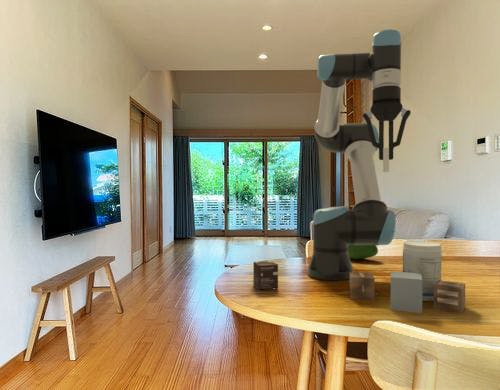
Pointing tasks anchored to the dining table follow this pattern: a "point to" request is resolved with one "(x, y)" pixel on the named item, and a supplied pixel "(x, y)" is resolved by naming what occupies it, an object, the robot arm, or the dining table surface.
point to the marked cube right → (449, 296)
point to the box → (265, 275)
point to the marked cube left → (362, 286)
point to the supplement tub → (423, 264)
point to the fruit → (362, 251)
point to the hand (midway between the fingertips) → (386, 171)
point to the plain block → (406, 291)
